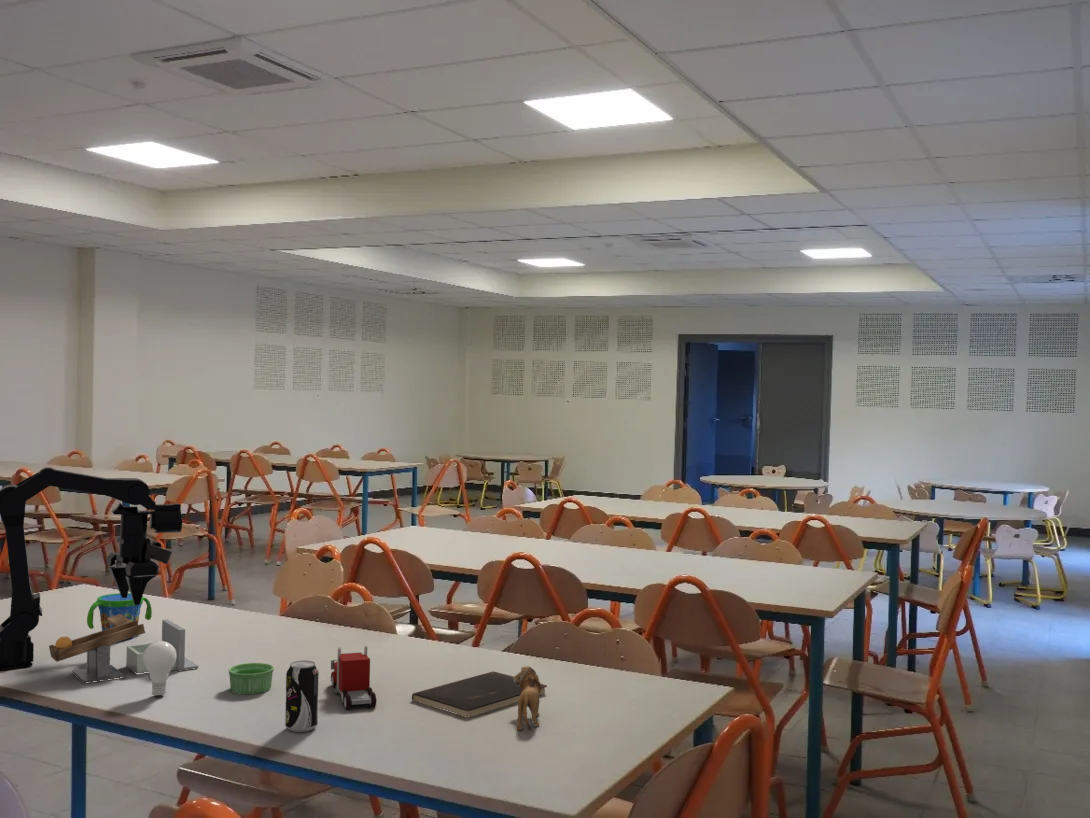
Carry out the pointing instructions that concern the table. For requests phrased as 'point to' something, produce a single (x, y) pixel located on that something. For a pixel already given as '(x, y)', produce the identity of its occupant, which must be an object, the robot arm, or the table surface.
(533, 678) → the lion figurine
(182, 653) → the backboard
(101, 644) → the lever
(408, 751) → the table surface
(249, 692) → the ramekin
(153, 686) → the lightbulb
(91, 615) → the snack cup
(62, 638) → the ball
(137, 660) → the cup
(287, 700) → the beverage can
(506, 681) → the hardcover book
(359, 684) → the toy truck
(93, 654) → the fulcrum
